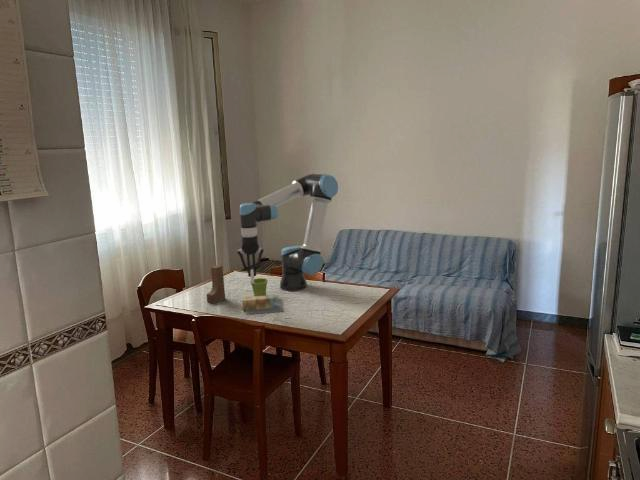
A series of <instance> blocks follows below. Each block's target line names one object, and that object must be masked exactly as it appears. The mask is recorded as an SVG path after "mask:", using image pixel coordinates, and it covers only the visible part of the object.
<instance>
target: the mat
mask: <svg viewBox="0 0 640 480" xmlns="http://www.w3.org/2000/svg"><path fill="white" fill-rule="evenodd" d="M273 303H274V308H266V309H254V310H245V311H246V312H245V314H246V315H257V314H271V313H282V312H283V313H284V305H283V300H282V299H281V300H279V299H278V300H273Z"/></svg>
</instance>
